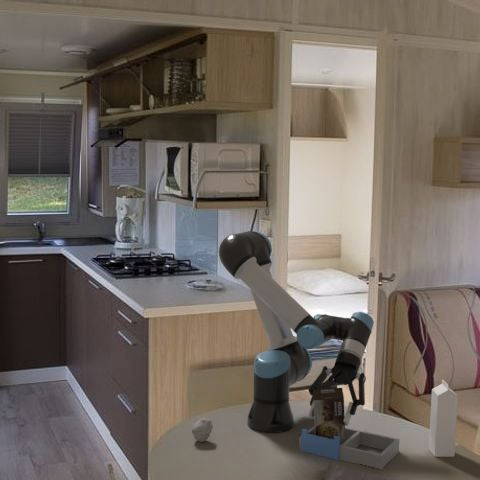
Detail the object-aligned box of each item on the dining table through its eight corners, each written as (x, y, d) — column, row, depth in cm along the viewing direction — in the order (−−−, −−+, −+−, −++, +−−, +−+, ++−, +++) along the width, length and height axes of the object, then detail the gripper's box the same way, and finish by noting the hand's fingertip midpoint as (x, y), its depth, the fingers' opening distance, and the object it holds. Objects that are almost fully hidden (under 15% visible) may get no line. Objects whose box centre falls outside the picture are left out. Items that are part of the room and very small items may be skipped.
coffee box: (344, 433, 230) (343, 387, 224) (345, 445, 224) (344, 398, 218) (314, 433, 230) (312, 388, 225) (315, 446, 224) (313, 399, 219)
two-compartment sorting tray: (298, 450, 224) (298, 428, 223) (319, 433, 237) (320, 413, 236) (380, 470, 211) (381, 447, 210) (398, 451, 224) (399, 430, 223)
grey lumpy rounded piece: (217, 440, 230) (217, 418, 229) (200, 446, 225) (200, 424, 224) (203, 435, 234) (204, 413, 233) (186, 440, 229) (187, 419, 228)
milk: (447, 449, 227) (452, 378, 225) (454, 457, 221) (459, 385, 219) (428, 449, 227) (432, 378, 224) (434, 457, 221) (438, 384, 218)
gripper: (387, 369, 232) (367, 433, 220) (319, 357, 244) (297, 417, 232) (382, 356, 227) (361, 421, 215) (313, 345, 238) (289, 406, 227)
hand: (328, 419), depth 224 cm, fingers closed on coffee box, 11 cm apart
